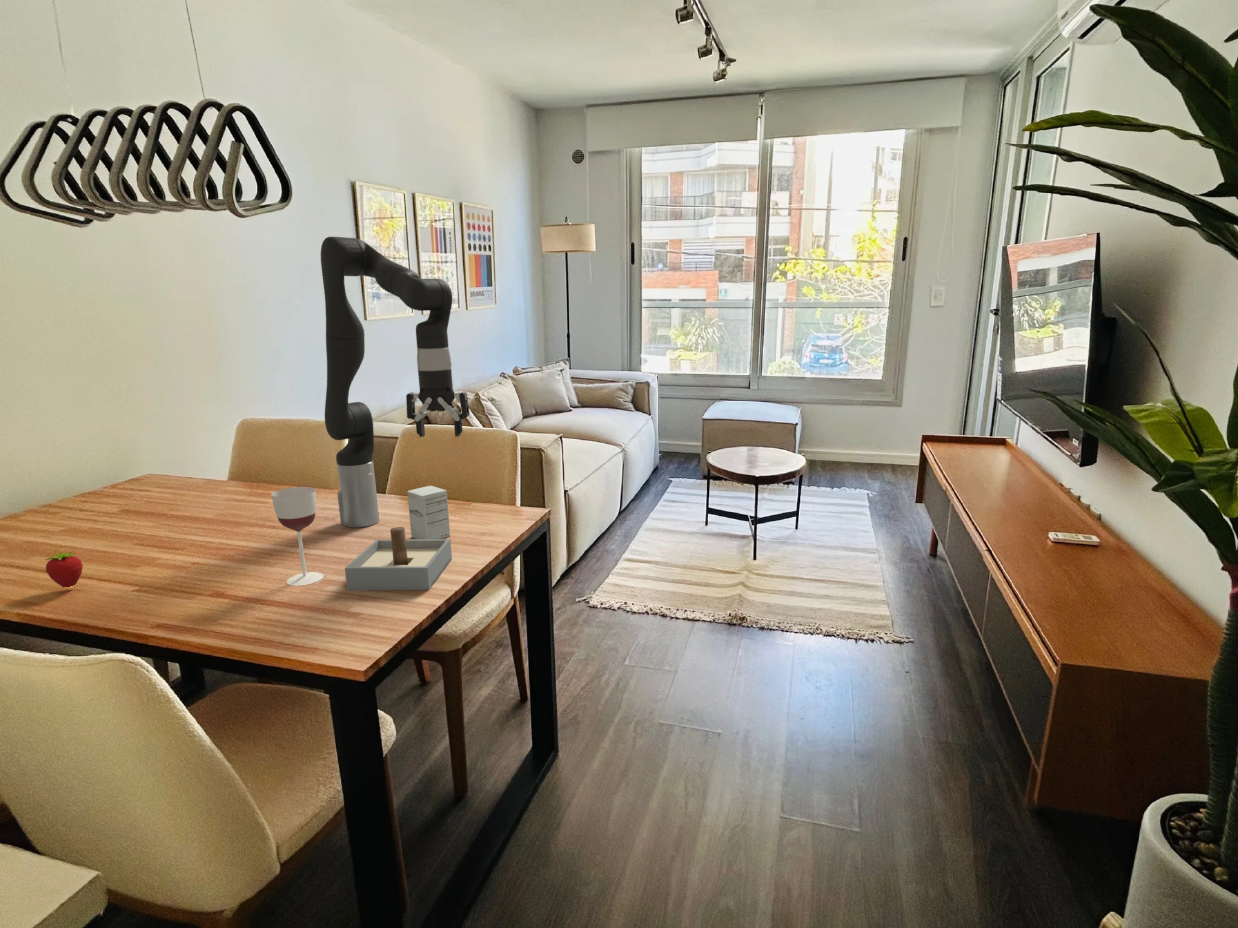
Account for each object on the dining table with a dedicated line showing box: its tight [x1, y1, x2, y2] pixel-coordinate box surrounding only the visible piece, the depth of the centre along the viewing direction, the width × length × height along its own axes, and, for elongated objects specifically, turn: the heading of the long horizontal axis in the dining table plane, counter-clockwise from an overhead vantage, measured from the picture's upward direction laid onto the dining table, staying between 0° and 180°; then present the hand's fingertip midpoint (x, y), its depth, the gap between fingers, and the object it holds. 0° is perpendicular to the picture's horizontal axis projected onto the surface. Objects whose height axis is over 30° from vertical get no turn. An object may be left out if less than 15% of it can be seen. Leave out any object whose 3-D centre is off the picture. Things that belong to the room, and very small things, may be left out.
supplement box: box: [406, 485, 451, 539], centre depth 177 cm, size 7×7×13 cm
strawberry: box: [44, 547, 84, 588], centre depth 148 cm, size 6×8×10 cm
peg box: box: [344, 538, 453, 591], centre depth 154 cm, size 18×18×5 cm
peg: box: [389, 526, 408, 565], centre depth 153 cm, size 3×3×10 cm
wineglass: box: [271, 486, 324, 587], centre depth 151 cm, size 8×9×20 cm
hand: (440, 436), depth 164 cm, fingers open, 8 cm apart
